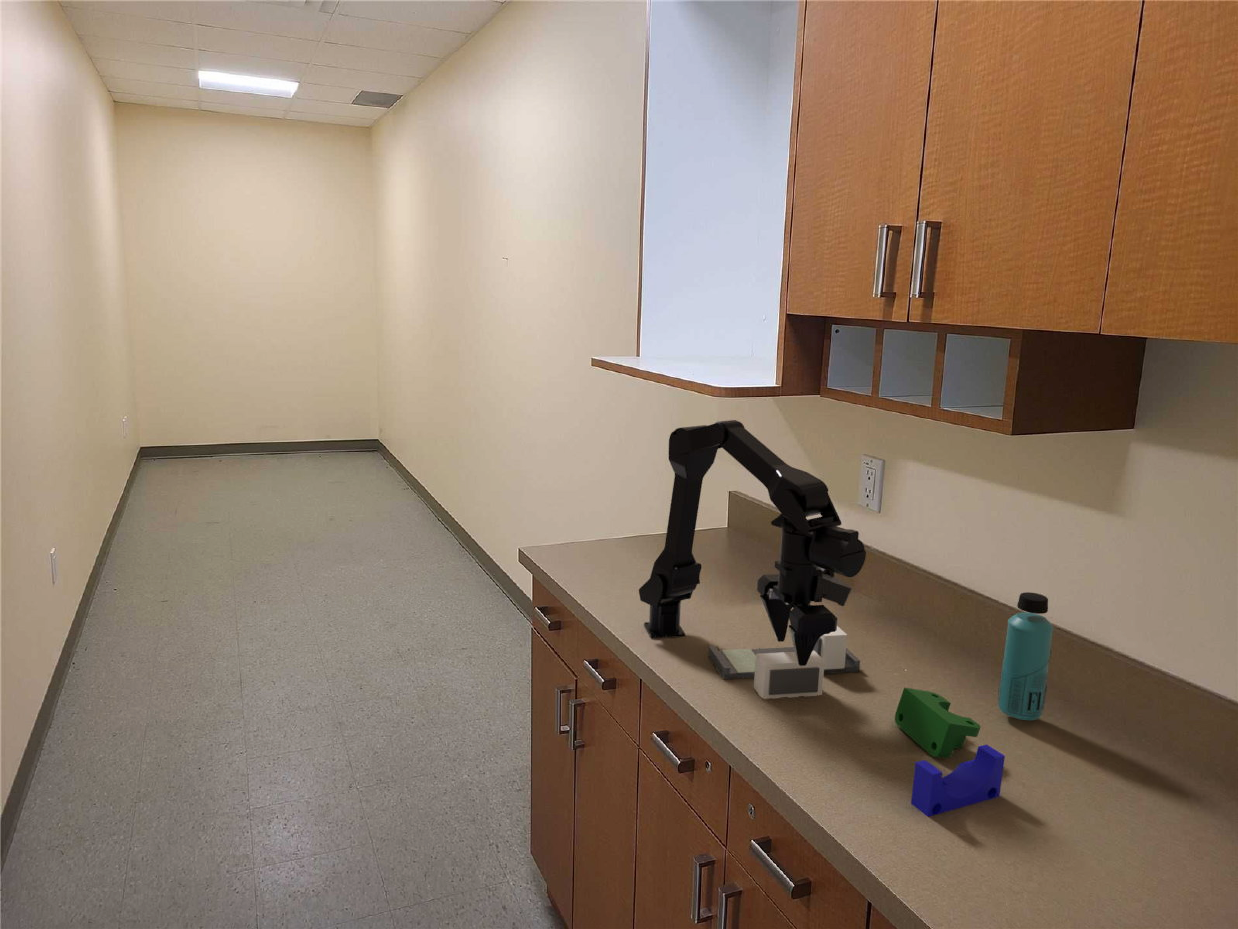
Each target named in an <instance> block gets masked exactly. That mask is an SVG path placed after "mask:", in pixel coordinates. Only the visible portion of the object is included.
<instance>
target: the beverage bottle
mask: <svg viewBox="0 0 1238 929" xmlns="http://www.w3.org/2000/svg"><path fill="white" fill-rule="evenodd" d="M1017 609H1019V610H1021V611H1022V612H1018V613H1015V615H1012V616H1011V617H1010V618H1008V619H1007V629H1006V637H1005V646H1004V647H1005V648H1004V653H1003V654H1004V655H1003V658H1002V666H1001V674H1000V676H999V677H1000V678H999V680H1000V681H999V686H998V687H999V688H998V692H997V693H998V694H997V701H996V703H997V705H998V709H999V710H1000V711H1001V713H1003V714H1005V715H1007V716H1009V717H1011V718H1014V719H1018V720H1022V721H1023V720H1024V721H1036V720H1038V719H1040V718H1041V717H1042V715H1043V712H1044V709H1045V708H1044V707H1045V706H1044V705H1045V703H1046V695H1047V683H1048V672H1049V666H1050V664H1051V662H1050V659H1051V655H1052V639H1053V632H1054V625H1052V623H1051V622H1050V621H1049V620H1048V619H1047V618H1046V617H1045V616H1043V615H1041V614H1047V613H1048V610H1049V598H1048V597H1047V596H1046V595H1043V594H1041V593H1036V592H1032V591H1031V592H1029V591H1028V592H1027V591H1026V592H1021V593H1020V594H1019V597H1018V601H1017Z"/></svg>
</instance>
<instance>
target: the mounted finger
mask: <svg viewBox="0 0 1238 929" xmlns="http://www.w3.org/2000/svg"><path fill="white" fill-rule="evenodd" d="M847 642H848V634H847V633H846V632H845V631H844V630H843V629H841V627H839V626H838V625H837V630H836V631H835V632H831V633H829V634H824V635H822V636H821V637H820V638H819V639H818V641H817V643H816V644H815V647H814V649H813V651H815V652H816V653H817V654H818V655H819V656H820V657H821V658H822V659H823V660H824V661H825V662H824V669H841V668H844V667H845V656H846V648H847Z"/></svg>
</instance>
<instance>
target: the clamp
mask: <svg viewBox="0 0 1238 929" xmlns="http://www.w3.org/2000/svg"><path fill="white" fill-rule="evenodd" d="M901 693H902V694H901V696H900V699H899V702H898V704H897V705H898V706H897V707H896V711H895V714H894V721H895V725H896V726H897V727H898V728H899V729H901V730H902V732H904V733H905V734H906V735H907V736H909V737H910V738H911V740H913V741H914V742H915V743H916V744H918V745H919V746H920V747H921V748H922V749H923V750H924V751H926V752H927V753H928V754H929V755H930V756H931V757H935V758H941V759H949V758H950V757H951V756H952V755H953V752H954V749H959V750H960V749H963V747H964V744H965V742H966V739H967V737H972V738H977V737H979V733H980V730H981V728H982V726H981V725H980V724H979V723H977V722H976V721H975V720H973V718H971V717H965V716H962V715H958V714H956V713H953V712H951V711H949V709H950V707H951V704H952V703H951V702H950V701H949V700H947V699H946V698H945V697H944V696H942V695H940V694H939V693H936V692H932V691H929V690H923V689H915V688H909V687H903V690H902V692H901Z"/></svg>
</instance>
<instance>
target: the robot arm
mask: <svg viewBox="0 0 1238 929" xmlns="http://www.w3.org/2000/svg"><path fill="white" fill-rule="evenodd" d="M720 449H723V450H724V451H725V452H726V453H727V454H728V455H730V456H731V457H732V458H733V459H734V460H735V461H736V462H738V463H739V464H740V465H741V466H742V467H743V468H744V469H745V470H746V471H747V472H748V473H750V474H751V475H752V476H753V477H755V478H756V479H757V480H758V481H759V482H760V483H761V484H762V485H763V486H764V487H765V488H766V490H767V492H768V496H769V500H770V502H771V503H772V504H773V505H774V507H775V508H776V509H777V510H778V511H779V513H780V514H779V515H778V516H777V517H776V518H774V519H772V520H771V521H770V524H771V526H773V527H775V528H776V527H777V528H780V529H781V537H780V548H779V549H780V550H779V551H780V553H779V560H774V568H775V569H776V570H777V571H778V573H776V574H775V573H774V574H773V573H772V574H771V573H770V574H763V575H762V576H761V577H760V578H759V579H757V585H756V586H757V589H756V591H757V592H758V593H759V594H760V595H759V598H760V599H761V602H762V604H763V606H764V609H765V611H766V613H767V614H766V615H767V617H768V619H769V621H770V624H771V628H772V630H773V633H774V635H775V639H776V641H777V642H779V643H781V642H785V639H786V636H787V631H788V629H789V633H790V637H791V641H792V645H793V647H794V649H795V653H796V657H797V660H798V664H799V665H800V666H805V665H806V664H807V662H808V660H809V658H810V655H811V653H812V651H813V649H814V647H815V644H816V643H817V641H818V639H819V638H820V637H821V636H822V635H824V634H829V633H831V632H835V631H836V630H837V626H838V617H837V616H836V615H835V614H834V613H833V611H830V610H829V608H827V606H825V605H824V604H814V605H812V604H811V603H812V602H814V603H822V602H823V599H824V600H828V601H830V602H833V603H836V604H837V605H838V606H841V607H844V606H845V605H846V602H847V600H848V598H849V596H850V593H851V591H852V589H853V588H852V586H850V585H849V584H847V582H845V581H844V580H842V579H840V578H839V577H838V576H835V574H837V575H841V576H844V577H847V578H853V577H856V576H857V575H858V574H859V573H860V572H861V570H862V569H863V567H864V564H865V561H866V558H867V557H866V556H867V552H866V550H865V549H866V548H865V545H864V542H862V540H860V539H859V535H860V534H859V531H858V530H855V529H849V528H848V529H847V528H843V527H840V526H841V525H842V521H841V518H840V516H839V514H838V512H837V510H836V508H835V505H834V503H833V501H832V499H831V497H830V495H829V487H828V486H827V484H826V483H825V481H823V480H822V479H820V478H818V477H816V476H814V475H813V474H811V473H809V472H808V471H805V470H802V469H799V468H796V467H792V466H791V465H789V464H788V463H786V462H785V461H784V460H782V459H781V458H780V457H779V456H778V455H777V454H775V453H774V452H773V451H772V450H771V449H770V448H768V447H767V446H766V445H765V444H764V443H763V442H761V441H760V440H759V439H758V438H756V437H755V436H754V435H753V434H752V433H751V432H750V431H749V430H747V429H746V428H745V426H744V424H743V423H742V422H741V421H739V420H737V419H730V420H720V421H716V422H714V423H713V424H709V425H707V424H704V425H701V424H700V425H693V426H692V425H691V426H684V427H677V428H676V429H674V430H673V431H671V433H670V435H669V438H668V461H669V463H670V466H671V468H672V470H673V472H674V478H673V485H672V492H671V498H670V499H671V501H670V507H669V514H668V515H669V516H668V521H667V527H666V529H667V530H666V534H665V542H664V543H665V544H664V547H663V550H662V551H661V552H660V553H659V555H658V556H657V558H656V559H655V560H654V562H653V566H652V570H651V573H650V576H649V579H648V580H646V582H644V583H643V584H642V585H641V587H639V588H638V593H639V599H640V601H641V602H643V603H645V604H647V605H649V617H648V618H649V620H648V622H647V621H646V622H643V626H644V628H645V630H646V632H647V634H648V635H649V637H650V638H652V639H657V638H659V639H660V638H681V637H685V636H686V632H685V631H684V630H683V628H682V627H681V608H682V607H681V603H682V601H684V600H685V601H686V600H690V599H691V598H692V596H693V592H694V591H695V590H696V588H697V586H698V585H700V584H701V583H700V582H701V581H700V574H701V570H702V564H701V563H700V562H697V561H696V559H695V556H694V554H693V545H694V539H695V535H696V534H695V533H696V525H697V518H698V513H699V507H700V501H701V500H700V499H701V492H702V485H703V480H704V478H705V475H707V473H708V472H709V470H710V469H711V467H712V466H713V464H714V463H715V459H716V458H717V457H716V456H717V453H718V450H720ZM816 515H821V516H819V517H818V516H817V517H814V518H809V519H808V518H807V517H813V516H816ZM789 623H790V624H789Z"/></svg>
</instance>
